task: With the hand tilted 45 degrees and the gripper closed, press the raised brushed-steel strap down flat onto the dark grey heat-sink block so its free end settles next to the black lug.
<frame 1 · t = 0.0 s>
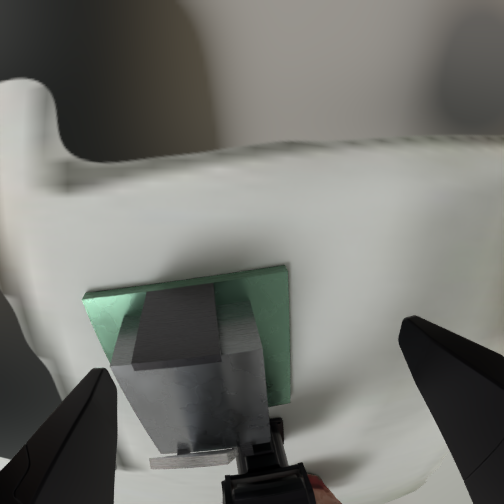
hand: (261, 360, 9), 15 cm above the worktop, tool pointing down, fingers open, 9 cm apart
heat sink: (198, 356, 27), on the worktop
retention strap: (206, 456, 18), point 10 cm above the worktop, hinge at 30.0°
decorative planter: (298, 483, 45), on the worktop
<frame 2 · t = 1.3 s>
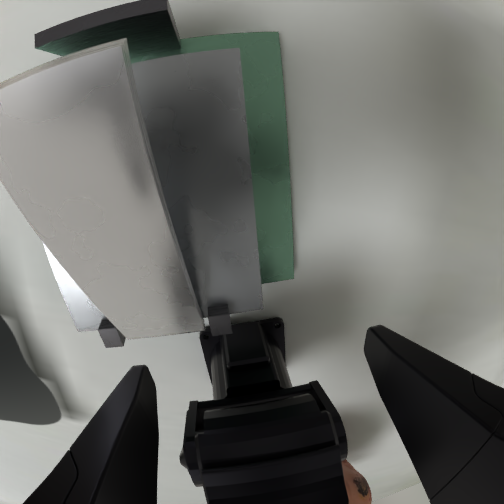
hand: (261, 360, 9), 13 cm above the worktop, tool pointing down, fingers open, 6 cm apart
heat sink: (155, 176, 18), on the worktop
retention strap: (119, 257, 10), point 10 cm above the worktop, hinge at 29.2°
decorative planter: (305, 453, 36), on the worktop
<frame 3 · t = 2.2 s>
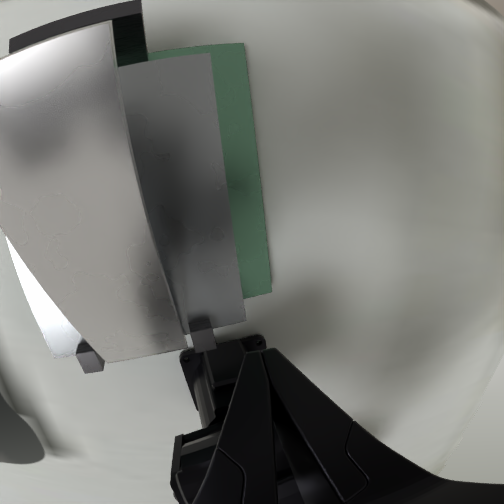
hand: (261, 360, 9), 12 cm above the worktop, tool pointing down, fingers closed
heat sink: (125, 194, 18), on the worktop
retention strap: (96, 266, 9), point 10 cm above the worktop, hinge at 29.2°
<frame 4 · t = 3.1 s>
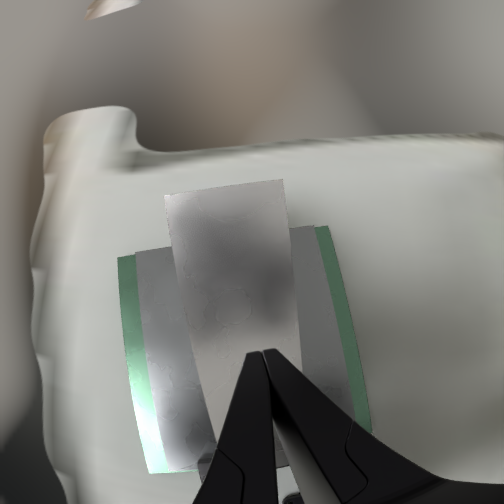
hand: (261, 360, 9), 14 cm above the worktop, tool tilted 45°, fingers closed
heat sink: (241, 352, 21), on the worktop
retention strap: (249, 362, 12), point 10 cm above the worktop, hinge at 29.2°
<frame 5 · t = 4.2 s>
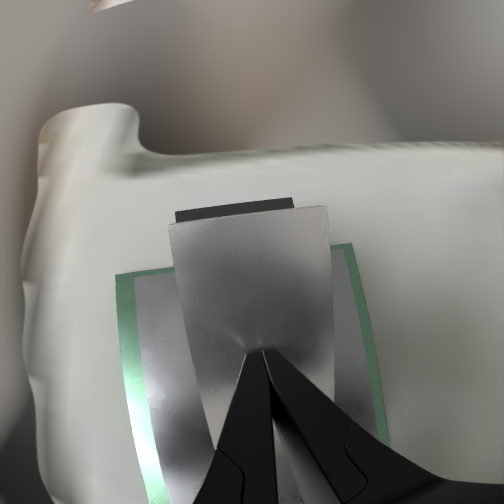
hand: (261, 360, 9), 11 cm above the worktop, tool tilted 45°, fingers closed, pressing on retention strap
heat sink: (253, 383, 19), on the worktop
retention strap: (272, 423, 9), point 10 cm above the worktop, hinge at 29.0°, touching gripper
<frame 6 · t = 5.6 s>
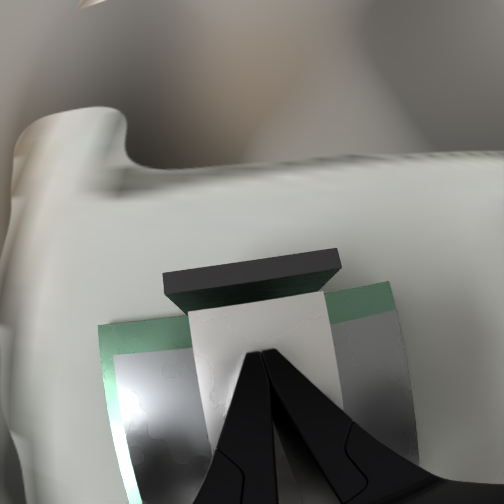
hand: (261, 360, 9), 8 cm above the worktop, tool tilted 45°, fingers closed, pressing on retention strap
heat sink: (270, 453, 14), on the worktop
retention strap: (290, 502, 8), point 7 cm above the worktop, hinge at 2.8°, touching gripper
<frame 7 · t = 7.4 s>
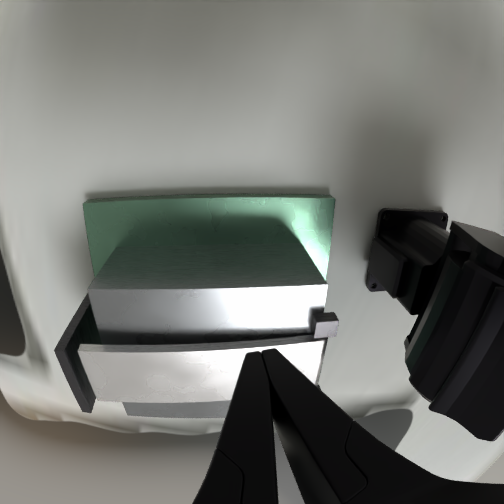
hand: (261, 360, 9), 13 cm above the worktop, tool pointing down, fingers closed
heat sink: (210, 303, 23), on the worktop
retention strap: (204, 374, 16), point 7 cm above the worktop, hinge at 2.8°
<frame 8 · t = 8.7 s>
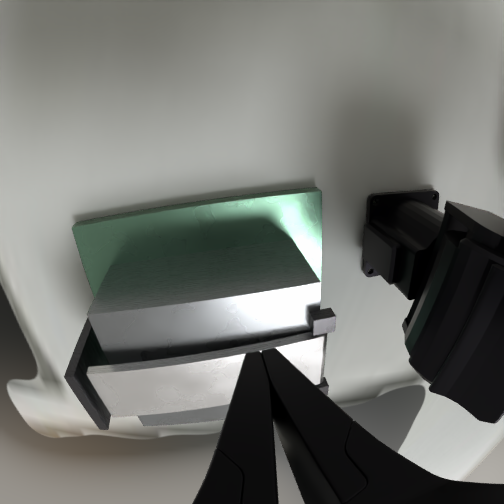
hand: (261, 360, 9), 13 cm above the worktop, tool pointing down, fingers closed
heat sink: (210, 307, 23), on the worktop
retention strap: (210, 381, 17), point 7 cm above the worktop, hinge at 2.8°
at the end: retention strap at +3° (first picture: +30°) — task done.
